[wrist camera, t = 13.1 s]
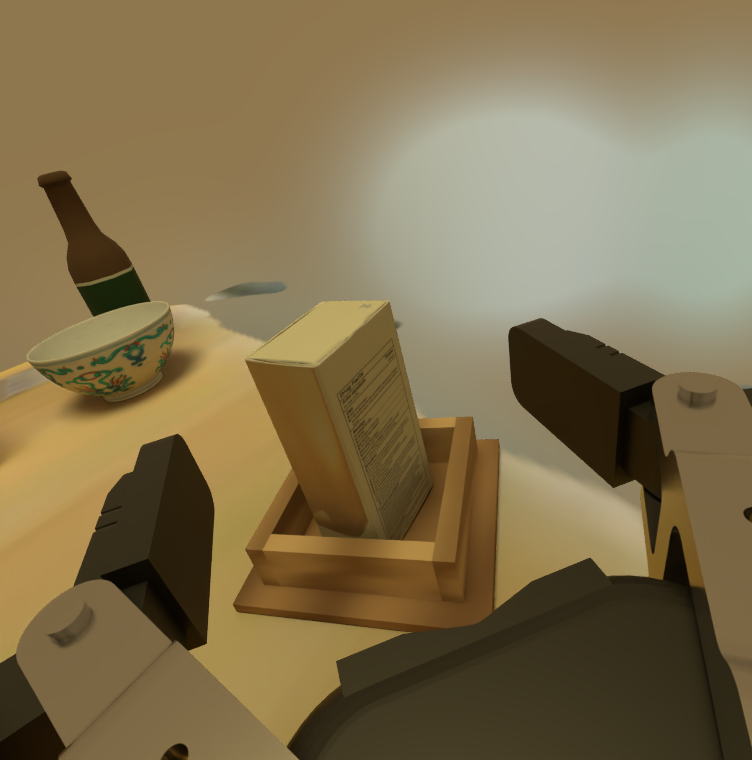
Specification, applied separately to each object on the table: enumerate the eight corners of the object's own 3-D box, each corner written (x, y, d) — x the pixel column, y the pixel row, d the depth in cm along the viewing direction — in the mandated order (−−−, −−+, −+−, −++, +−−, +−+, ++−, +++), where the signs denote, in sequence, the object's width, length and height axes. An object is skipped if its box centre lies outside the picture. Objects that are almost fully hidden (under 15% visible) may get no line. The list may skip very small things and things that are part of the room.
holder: (237, 611, 24) (210, 569, 22) (321, 449, 34) (308, 413, 33) (492, 641, 19) (483, 591, 18) (499, 446, 30) (494, 403, 28)
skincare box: (376, 471, 30) (324, 296, 24) (436, 485, 27) (394, 295, 22) (318, 547, 25) (237, 356, 20) (384, 571, 23) (314, 362, 17)
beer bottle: (124, 360, 63) (21, 177, 52) (108, 351, 69) (11, 184, 57) (175, 336, 67) (91, 162, 56) (157, 329, 73) (76, 169, 61)
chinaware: (145, 420, 46) (106, 352, 42) (36, 428, 50) (-8, 368, 47) (218, 350, 58) (193, 293, 55) (126, 362, 63) (97, 310, 59)
